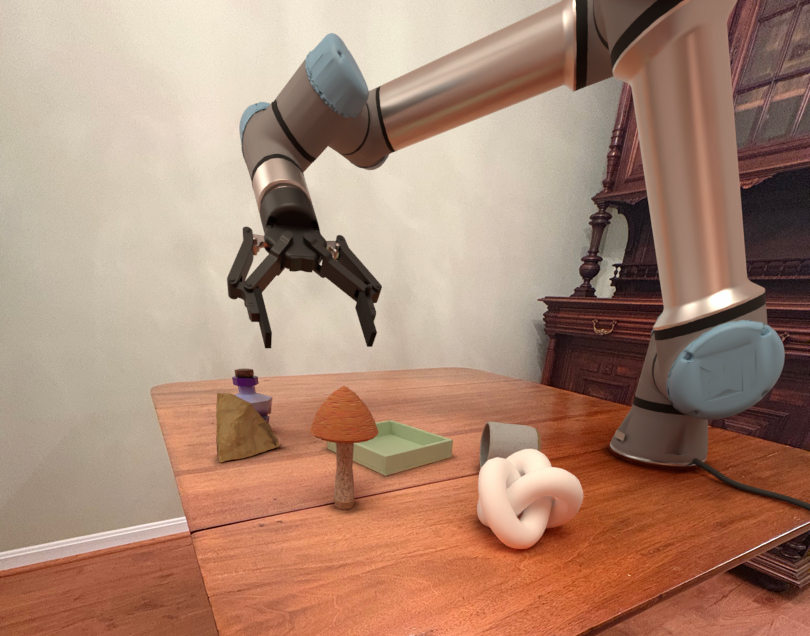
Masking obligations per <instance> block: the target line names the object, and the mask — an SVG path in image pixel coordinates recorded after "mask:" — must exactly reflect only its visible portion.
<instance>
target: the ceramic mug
mask: <svg viewBox="0 0 810 636" xmlns="http://www.w3.org/2000/svg"><path fill="white" fill-rule="evenodd" d="M479 444H480V445H479V454H478V455H479V458H478V459H479V460H478V461H479V466H480V467H479V468H480V469H481V467H482V466H483V465H484V464H485V463H486V462H487V461H488V460H490V459H493V458H496V457H499V458H504V459H506V458H507V457H509V456H510V455H512V454H514V453H516V452H518V451H521V450H524V449H535V450H538V451H539V452H541V450H542V438H541V433H540V431H539V430H538V429H537V428H536V427H533V426H530V425H525V424H516V423H515V424H514V423H507V422H500V421H499V422H498V421H490V420H488V421H487V422H486V423H485V424H484V426H483V428H482V432H481V437H480V443H479Z"/></svg>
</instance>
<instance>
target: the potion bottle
mask: <svg viewBox="0 0 810 636" xmlns="http://www.w3.org/2000/svg"><path fill="white" fill-rule="evenodd" d="M231 378H232V385H233V386H236V387H237V389H238V393H235V394H234V395H236V396H237V397H239V398H241V399H243V400H245V401H247V402H249V403H251V404H252V406H253V408H254V409H255V410H256V411H257V412H258V413H259V414H260V416H261V417H262V418H263V419H264V420H265V421H267V422H268V423H269V424H270V415H271V414H272V408H273V407H272V404H273V396H270V395H267V394H264V393H260V392H256V391H257V390H256V386H257V385H259V376H257V375H255V372H254V368H236V369H234V376H232V377H231Z"/></svg>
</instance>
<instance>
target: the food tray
mask: <svg viewBox="0 0 810 636" xmlns="http://www.w3.org/2000/svg"><path fill="white" fill-rule="evenodd" d="M375 423H376V426H377V429H378V435H377V436H375V437H374V438H373V439H371V440H368V441H365V442H360V443H354V450H353V463H354V462H355V463H357V464H358V465H361V466H363V467H365V468H367V469H369V470H371V471H374V472H376V473H378V474H380V475H382V476H384V477H387V476H390V475H394V474H397V473H401V472H404V471H405V472H406V471H408V470H412V469H416V468H419V467H423V466H426V465H429V464H433V463H436V462H440V461H443V460H447V459H451V458H452V457H453V444H454V439H452V438H449V437H445V436H443V435H439V434H437V433H434V432H430V431H427V430H424V429H421V428H417V427H414V426H412V425H409V424H405V423H402V422H399V421H396V420H392V419H388V420H383V421H377V422H376V421H375ZM326 446H327V447H326V448H327V450H329V451H331V452H333V453H335V454H336V443H334V442H329V441H326Z"/></svg>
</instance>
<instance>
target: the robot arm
mask: <svg viewBox="0 0 810 636" xmlns="http://www.w3.org/2000/svg"><path fill="white" fill-rule="evenodd" d="M737 2H738V0H559V1H558V2H555V3H554V4H552V5H550V6H548V7H545V8H543V9H541V10H539V11H537V12H534V13H532V14H531V15H528V16H526V17H524V18H522V19H520V20H517V21H516V22H513V23H512V24H509V25H507V26H505V27H503V28H501V29H497V31H494V32H492V33H490V34H487V35H485V36H483V37H482V38H479V39H477V40H475V41H473V42H470V43H469V44H466V45H463V46H462V47H460V48H458V49H456V50H453V51H452V52H449V53H447V54H445V55H442V56H441V57H438V58H437V59H434V60H432V61H430V62H428V63H425V64H424V65H421V66H419V67H417V68H415V69H413V70H411V71H409V72H407V73H404V74H402V75H400V76H398V77H396V78H394V79H391V80H389V81H387V82H385V83H383V84H381V85H379V86H377V87H375V88H372V89H370V90H369V87H368V85H367V82H366V79H365V77H364V75H363V72H362V70H361V69H360V67H359V66H358V63H357V61H356V59H355V58H354V56H353V54H352V53H351V51H350V50H349V49H348V47H347V45H346V44H345V42H344V40H343V39H342V38H341V37H340V36H339V35H338V34H337V33H335V32H330V33H327V34H326V35H325V36H324V37H323V38H322V39H321V41H319V43H318V44H317V45H316V46H315V47H314V48H313V49H312V50H310V51H309V52H308V53H307V54H306V56H305V58H304V60H303V61H302V63H301V64H300V65H299V67H298V68H297V69H296V70H295V72H294V73H293V74H292V76H291V77H290V79H289V80H288V81H287V82H286V84H285V85H284V87H283V88H282V89H281V90H280V92H279V93H278V94H277V96H276V97H275V99H274V100H273V101H272V102H271V103H270V102H266V101H259V102H256V103H253V104H250V105H249V106H247V107H246V108H245V109H244V111H243V113H242V115H241V117H240V121H239V129H238V130H239V138H240V146H241V154H242V157H243V160H244V163H245V165H246V169H247V171H248V174H249V177H250V181H251V186H252V191H253V195H254V199H255V202H256V207H257V211H258V214H259V218H260V222H261V226H262V230H263V234H264V235H263V234H262V235H261V234H255V233H253V229H252V228H251V227H249V226H243V227H242V243H241V244H240V247H239V249H238V251H237V253H236V255H235V258H234V260H233V263H232V265H231V268H230V270H229V272H228V275H227V277H226V284H227V296H228V298H229V299H231V300H237V299H241V300H243V304H244V307H245V308H246V312H247V315H248V320H249V321H250V322H251V323H258V325H259V329H260V333H261V337H262V341H263V346H264V349H272V342H273V341H272V337H273V332H272V328H271V323H270V319H269V316H268V315H269V314H268V311H267V308H266V303H265V301H264V296H263V292H264V291H265V290H266V289H267V287H268V286H269V285H271V283H272V281H274V280H275V278H276V277H279V276H280V275H281V274H282V273H283V272H284V271H285V270H289V272H294V273H295V272H304V273H313V272H314V273H315V274H317V276H319V277H320V278H322V279H325V278H326V279H327V280H328V281H329V282H330V283H331V284H333V285H334V286H336V287H337V288H338V289H339V290H341V292H343V293H344V294H346V295H347V296H348V297H349V298H350V299H352V300H353V301H355V302H356V303H355V312H356V315H357V318H358V322H359V325H360V329H361V331H362V334H363V338H364V342H365V344H366V347H367V348H369V347H370V348H373V345H374V343H375V339H376V337H377V334H378V331H377V327H376V324H375V320H376V317H377V310H376V306H375V304H377V303H378V301H379V298H380V295H381V292H382V289H383V286H382V284H381V282H379V281H378V279H377V278H376V277H375V275H373V274H372V272H371V271H370V270H369V269H368V268H367V267H366V266H365V264H364V263H363V262H362V261H361V260H360V259H359V258H358V256H357V255H356V254H355V253H354V252H353V251H352V250H351V248H350V247H349V245H348V242H347V240H346V238H345V236H344V235H342V234H338V235H336V237H335V240H327V239H326V237H324V236H323V235H322V233H321V229H320V225H319V221H318V218H317V215H316V212H315V208H314V205H313V201H312V197H311V194H310V191H309V187H308V184H307V181H306V178H305V173H304V172H306V171H307V169H308V168H309V167H310V166H311V165H312V164H313V163H314V162H315V161H316V160H317V159H318V158H319V157H320V156H321V155H322V153H323V152H324V151H325V150H327V148H330V149H331V150H333V151H334V152H336V153H338V154H339V155H340V156H342V157H343V158H344V159H346V160H347V161H348V162H349V163H350V164H351V165H353V166H355V167H356V168H359V169H363V170H365V171H374V170H377V169H380V167H382V166H383V165H384V164H385V162H386V161H387V160H388V158H389V156H390V154H392V153H393V154H394V153H396V152H398V151H401V150H403V149H405V148H408V147H410V146H413V145H415V144H418V143H420V142H423V141H426V140H429V139H430V138H433V137H436V136H438V135H441V134H443V133H447V132H448V131H451V130H453V129H456V128H458V127H459V128H460V127H461V126H463V125H466V124H469V123H471V122H474V121H477V120H479V119H482V118H484V117H486V116H489V115H492V114H494V113H497V112H500V111H502V110H504V109H507V108H509V107H512V106H514V105H517V104H520V103H522V102H525V101H527V100H529V99H531V98H532V99H533V98H535V97H537V96H539V95H543V94H545V93H547V92H550V91H552V90H555V89H558V88H560V87H563V86H565V87H567V88H568V89H569V90H570V91H572V92H576V91H579V90H581V89H584V88H586V87H590V86H592V85H595V84H598V83H600V82H603V81H606V80H608V79H610V78H614V79H615V80H618V81H620V82H623V83H625V84H628V85H629V86H630V87H631V93H632V101H633V107H634V114H635V115H634V116H635V121H636V129H637V135H638V141H639V148H640V156H641V162H642V168H643V175H644V181H645V189H646V195H647V196H646V197H647V202H648V209H649V216H650V223H651V230H652V236H653V245H654V249H655V250H654V251H655V257H656V264H657V270H658V278H659V283H660V290H661V291H660V292H661V297H662V298H661V299H662V305H663V310H662V312H661V313H660V315H659V316H657V318H656V321H655V323H654V324H653V326H652V329H651V332H650V340H649V344H648V347H647V350H646V354H645V359H644V361H643V366H642V368H641V372H640V375H639V379H638V383H637V387H636V390H635V394H634V397H633V401H632V405H631V406H630V410H629V411H628V413H627V414H626V416H625V417H624V418H623V420H622V422H621V423H620V425H619V427H618V428H617V429H615V433H614V434H613V436H612V438H611V441H610V442H609V447H608V452H609V453H610V454H611V455H612V456H614V457H616V458H617V459H620V460H622V461H624V462H626V463H630V464H634V465H637V466H640V467H641V466H642V467H645V468H651V469H657V470H664V471H694V470H698V469H700V468H701V470H704V471H706V472H707V473H709V474H711V475H712V476H714V477H715V478H716V479H718V480H719V481H720V482H722V483H724V484H726V485H728V486H731V487H733V488H735V489H738V490H740V491H744V492H748V493H751V494H755V495H759V496H762V497H765V498H769V499H774V500H776V501H781V502H783V503H786V504H790V505H793V506H795V507H798V508H801V509H803V510H806V511H808V512H810V502H806V501H803V500H800V499H798V498H795V497H792V496H790V495H784V494H783V493H778V492H775V491H771V490H767V489H762V488H759V487H755V486H752V485H748V484H745V483H741V482H739V481H737V480H734V479H732V478H730V477H728V476H727V475H724V474H723V473H722V472H720V471H718V470H717V469H716V468H715V467H713V466H710V464H708V463H706V461H707V459H708V453H709V421H712V420H714V421H715V420H721V419H726V418H729V417H734V416H736V415H739V414H741V413H743V412H745V411H747V410H748V409H750V408H752V407H753V406H755V405H756V404H758V403H759V402H760V401H761V400H762V399H763V398H764V397H765V396H766V395H767V394H768V393H769V392H770V391H771V390H772V389H774V388H773V387H774V386H775V385H776V383H777V382H778V380H779V378H780V376H781V374H782V372H783V370H784V369H783V368H784V365H785V357H786V354H785V351H786V350H785V346H784V343H783V341H782V339H781V337H780V336H779V334H778V332H777V331H776V330H775V329H774V328H772V327H771V326H770V325H768V313H767V299H766V288H765V287H763V286H761V285H759V284H758V283H754V282H753V281H751V280H750V279H749V278H748V271H747V258H746V257H747V256H746V246H745V235H744V234H745V233H744V224H743V223H744V221H743V207H742V197H741V196H742V195H741V181H740V172H739V159H738V157H739V156H738V146H737V133H736V132H737V131H736V122H735V121H736V120H735V109H734V97H733V81H732V71H731V59H730V46H729V45H730V43H729V32H728V21H729V18H730V15H731V13H732V12H733V10H734V8H735V6H736V4H737ZM263 248H264V250H265V252H266V253H267V256H266V257H265V258H264V259H263V260H262V261H261V262H260V263H259V265H258V266H257V267H255V269H254V270H253V271H252V273H250V274H249V272H250V269H251V267H252V266H253V262H254V257H255V256H258V253H259V252H260V251H261V249H263ZM248 275H249V276H248Z"/></svg>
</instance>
